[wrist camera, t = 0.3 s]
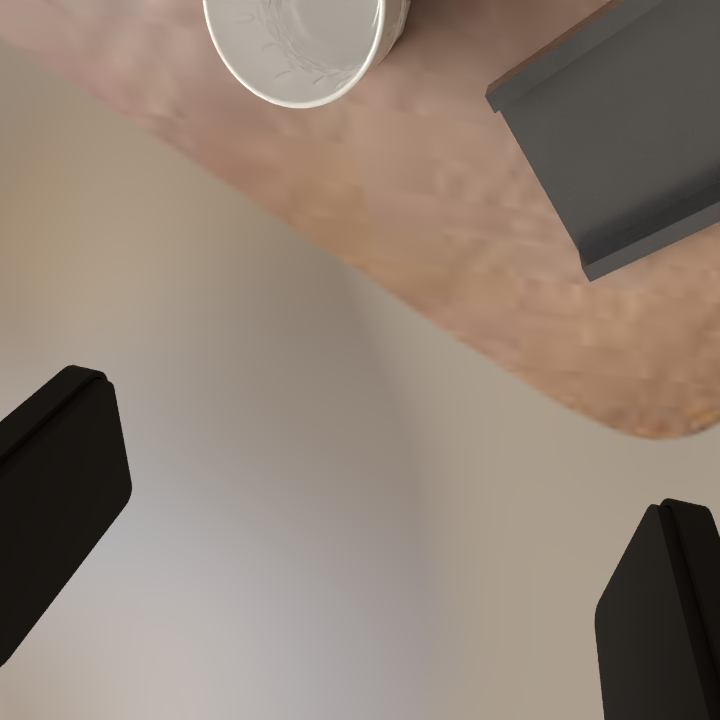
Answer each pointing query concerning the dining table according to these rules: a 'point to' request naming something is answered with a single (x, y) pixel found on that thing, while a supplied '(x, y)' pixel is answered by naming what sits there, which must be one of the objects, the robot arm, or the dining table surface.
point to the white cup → (303, 44)
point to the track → (624, 126)
